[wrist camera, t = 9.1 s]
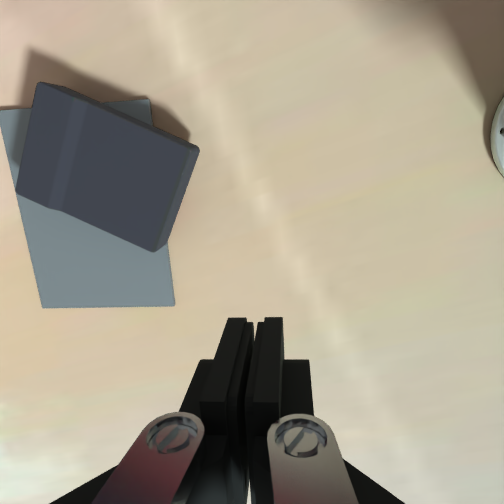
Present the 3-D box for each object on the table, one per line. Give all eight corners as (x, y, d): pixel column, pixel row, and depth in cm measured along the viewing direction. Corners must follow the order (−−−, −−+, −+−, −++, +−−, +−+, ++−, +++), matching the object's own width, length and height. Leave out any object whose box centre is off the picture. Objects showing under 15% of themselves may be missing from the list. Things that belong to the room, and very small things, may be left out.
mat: (149, 99, 38) (147, 99, 37) (175, 304, 44) (174, 306, 43) (0, 111, 39) (-4, 110, 39) (45, 306, 46) (42, 308, 45)
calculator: (203, 147, 37) (66, 85, 38) (190, 148, 33) (36, 79, 34) (168, 244, 41) (42, 187, 41) (152, 256, 37) (13, 193, 37)
